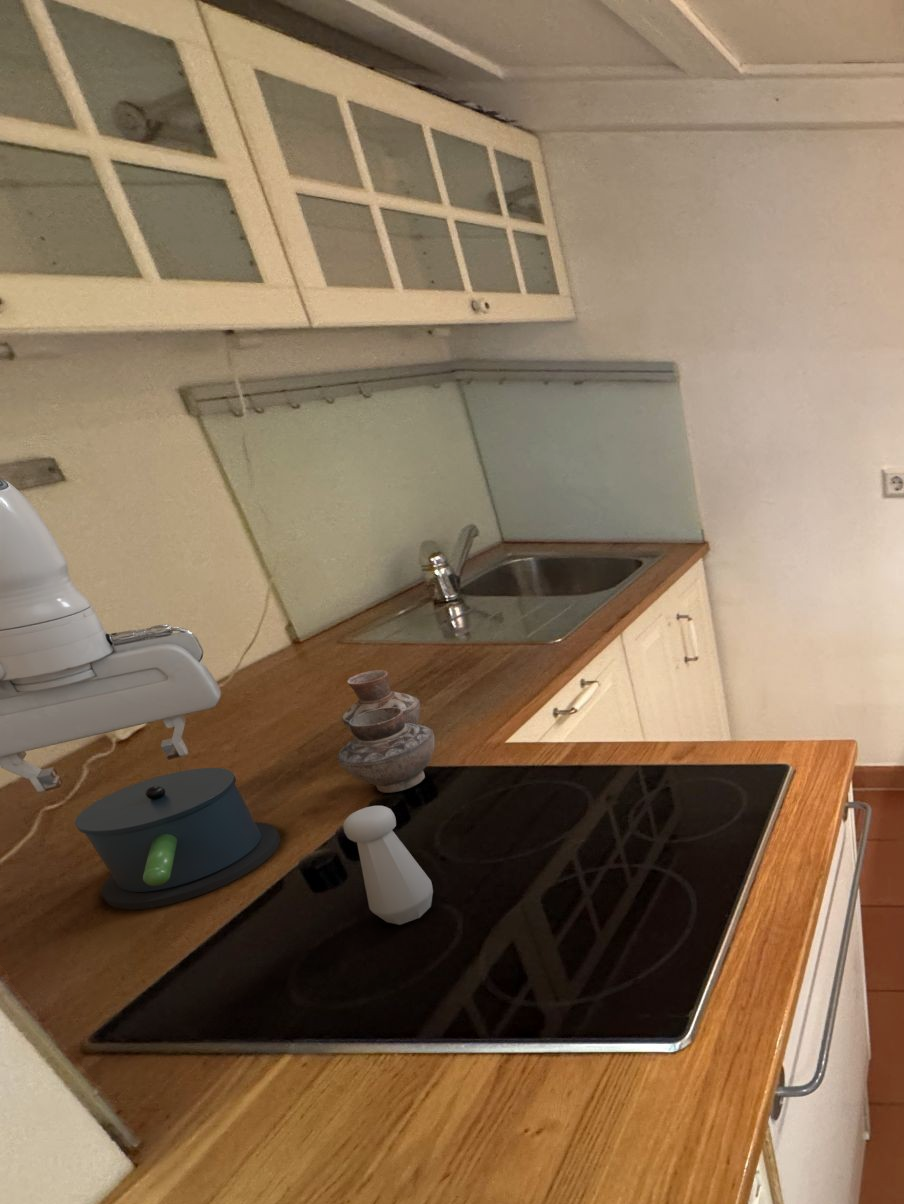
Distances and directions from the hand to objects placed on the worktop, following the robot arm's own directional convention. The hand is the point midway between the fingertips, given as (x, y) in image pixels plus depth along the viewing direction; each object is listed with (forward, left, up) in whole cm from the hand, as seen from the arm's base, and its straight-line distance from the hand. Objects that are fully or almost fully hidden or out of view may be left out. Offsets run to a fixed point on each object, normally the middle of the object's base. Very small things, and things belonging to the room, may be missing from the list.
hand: (117, 771), depth 79 cm
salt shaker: (+18, -18, -18) cm, 31 cm away
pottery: (+21, +23, -18) cm, 36 cm away
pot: (-1, +6, -16) cm, 17 cm away
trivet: (-1, +10, -18) cm, 20 cm away
